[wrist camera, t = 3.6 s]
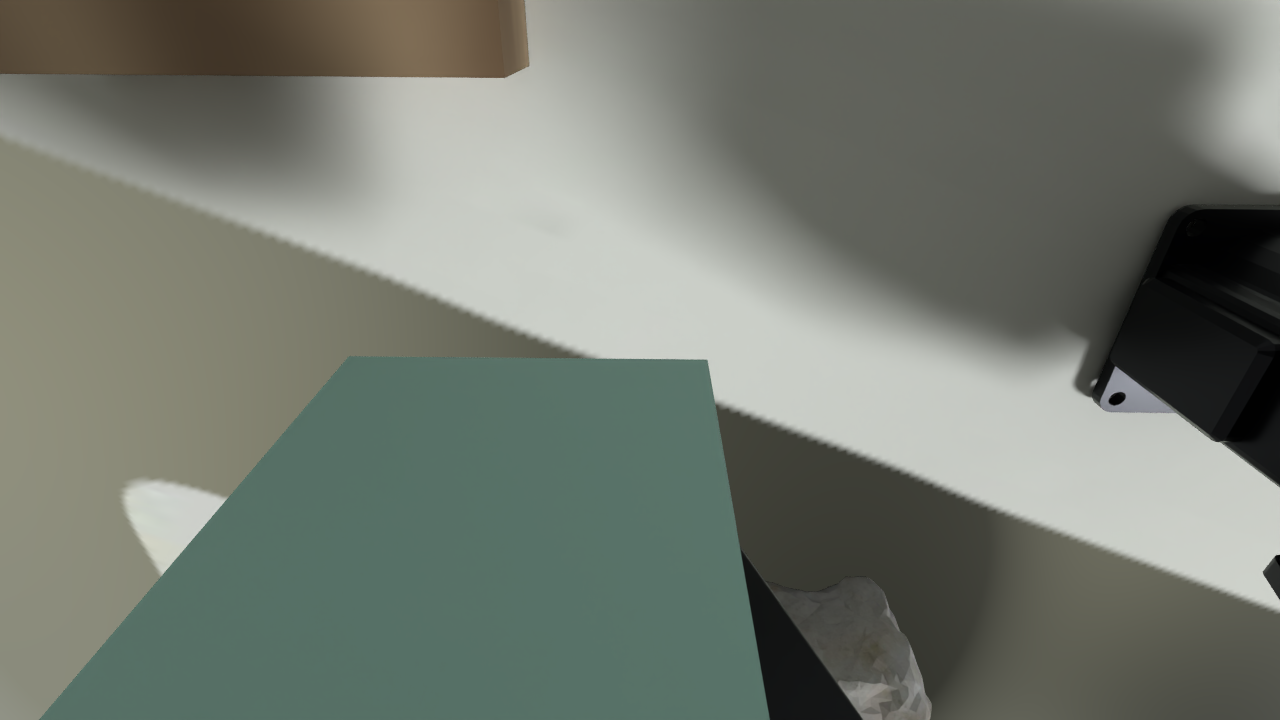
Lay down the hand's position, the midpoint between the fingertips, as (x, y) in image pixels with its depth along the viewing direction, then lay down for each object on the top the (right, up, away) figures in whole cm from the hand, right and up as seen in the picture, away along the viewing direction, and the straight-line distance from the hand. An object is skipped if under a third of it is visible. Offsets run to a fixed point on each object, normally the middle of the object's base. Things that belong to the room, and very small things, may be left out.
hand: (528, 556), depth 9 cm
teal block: (0, +1, +1) cm, 1 cm away
